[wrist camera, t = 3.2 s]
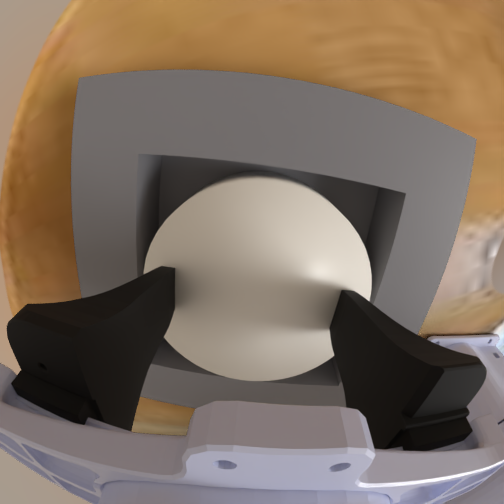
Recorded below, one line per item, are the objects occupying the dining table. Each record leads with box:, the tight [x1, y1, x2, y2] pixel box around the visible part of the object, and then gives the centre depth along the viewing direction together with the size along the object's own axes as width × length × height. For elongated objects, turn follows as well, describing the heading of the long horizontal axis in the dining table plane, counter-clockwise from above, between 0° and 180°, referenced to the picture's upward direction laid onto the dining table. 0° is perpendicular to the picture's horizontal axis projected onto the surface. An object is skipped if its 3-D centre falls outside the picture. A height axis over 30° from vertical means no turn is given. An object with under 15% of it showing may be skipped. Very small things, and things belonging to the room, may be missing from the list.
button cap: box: [144, 171, 372, 381], centre depth 14 cm, size 10×10×3 cm
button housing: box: [71, 70, 476, 408], centre depth 14 cm, size 18×18×4 cm
